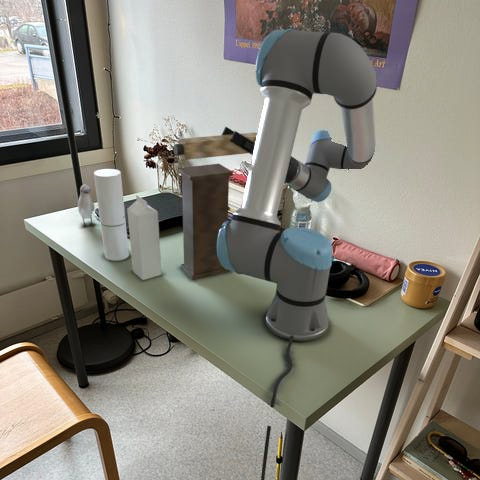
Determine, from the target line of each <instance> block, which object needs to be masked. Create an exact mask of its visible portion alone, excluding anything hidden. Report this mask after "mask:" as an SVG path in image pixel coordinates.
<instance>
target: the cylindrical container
mask: <svg viewBox="0 0 480 480" xmlns="http://www.w3.org/2000/svg"><path fill="white" fill-rule="evenodd" d="M93 178H94V185H95V192H96V193H95V194H96V200H97V209H98V215H99V222H100V229H101V231H100V232H101V237H102V238H101V239H102V246H103V253H104V258H105V259H106V260H109V261H114V262H115V261H117V262H118V261H123V260H125V259H128V257H129V256H130V250H129V241H128V230H127V221H126V212H125V211H126V210H125V202H124V191H123V182H122V172H121V170H119V169H116V168H102V169H97V170H95V171H93Z"/></svg>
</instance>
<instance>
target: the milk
mask: <svg viewBox="0 0 480 480" xmlns="http://www.w3.org/2000/svg"><path fill="white" fill-rule="evenodd" d="M135 197H136V198H135V199H136V200H135V201H134V202H133V203H132V204H130V206H128V208H127V209H126V212H127V221H128V222H127V223H128V231H129V241H130V242H129V243H130V253H131V262H132V272H133V273H134V274H135V275H137V277H139V279H141V280H142V281H145V280H149V279H152V278H155V277H158V276H162V258H161V257H162V256H161V244H160V243H161V242H160V225H159V211H158V210H156V209H155V208H153V207H151V206H150V205H149V204H148V201H146V200H145V199H144V198H142V197H140V195H136V196H135Z"/></svg>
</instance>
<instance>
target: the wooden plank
mask: <svg viewBox="0 0 480 480" xmlns="http://www.w3.org/2000/svg"><path fill="white" fill-rule="evenodd" d="M240 134H241V135H243V136H244V137H246V138H248V139H249V140H251V141H252V142H254V143H256V139H257V134H258V132H245V133H240ZM232 135H233V134H231V135H222V134H220V135H209V136H207V135H206V136H197V137H185V138H178V139H177V143H175V144H173V152H174V155H175V156H176V157H177V156H179V157H180V158H182V159H183V160H185V161H188V160H198V159H206V158H208V159H209V158H214V157H215V158H216V157H226V156H236V155H245V154H249V152H247V151H246V150H244V149H242V148H241V147H239V146H237V145H236V144H234V143H232V142H231V141H230V139H231V137H232ZM254 146H255V144H254ZM251 152H252V151H251ZM251 152H250V153H251Z"/></svg>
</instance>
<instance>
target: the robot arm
mask: <svg viewBox="0 0 480 480" xmlns="http://www.w3.org/2000/svg"><path fill="white" fill-rule="evenodd" d="M255 68H256V70H255V79H256V83H257V84H258V86H259V87H260V90H259V92H260V95H261V97H262V98H263V100H264V104H263V108H262V112H261V116H260V122H259V126H258V130H257V139H256V143H254V142H252V141H251V140H249V139H248V138H246V137H244V136H243V135H241V134H242V133H240V132H238V131H237V130H234V131H233V130H232V129H231V128H229V127H227V126H224V128H223V131H222V133H221V135H231V134H233V135H232V137H231V139H230V141H231V142H232V143H234V144H236V145H237V146H239V147H241V148H242V149H244V150H246V151H247V152H249V153H248V154H249V155H251V156H252V157H251V161H250V166H249V169H248V175H247V179H246V184H245V187H244V193H243V195H242V196H243V197H242V200H241V205H240V207H239V208H238V209H237V210H235V211H234V212H232V217H231V219H228V221H226V222H224V223H223V225H222V228H221V229H220V230H219V234H218V239H217V254H218V258H219V261H220V263H221V265H222V266H223V267H224V268H225V269H227V270H230V271H231V272H233V273H235V274H236V275H244V276H248V277H251V278H255V279H258V280H262V281H266V282H270V283H273V284H276V289H275V295H274V297H273V299H272V301H271V302H270V305H269V307H268V309H267V310H266V311H267V312H266V316H265V324H266V328H268V330H269V331H270V332H271V333H272V334H274V335H276V336H277V337H279V338H281V339H284V340H287V341H288V343H287V346H286V351H285V355H286V356H285V357H286V359H287V362H288V367H287V368H286V370H285V371H284V372H283V373H281V374H280V375H279V376H278V378H277V379H276V381H275V383H274V385H273V390H272V396H271V401H270V405H269V407H270V408H274V407H275V404H276V401H277V394H278V389H279V387H280V383H281V382H282V380H283V379H284V378H285V377H286V376H287V375H288V374H289V373H290V372H291V370H292V368H293V361H292V358H291V355H290V352H291V351H290V350H291V348H292V345H293V342H299V343H300V342H303V343H304V342H312V341H315V340H318V339H320V338H322V337H324V336H325V334H326V333H327V332H328V328H329V322H330V320H329V313H328V308H327V303H326V295H327V289H328V282H329V277H330V272H331V267H332V265H333V263H332V262H333V260H332V258H333V245H332V243H331V241H330V240H329V239H328V237H327V236H325V234H323V233H321V232H319V231H316V230H314V229H312V228H309V227H304V226H300V227H297V226H290V227H287V228H286V229H284V230H283V231H282V232H281V231H280V230H281V227H282V223H281V221H280V220H279V218H278V211H279V208H280V204H281V199H282V194H283V192H284V191H283V190H284V186H287V189H288V190H289V191H291V190H293V191H295V192H297V193H299V194H300V195H301V196H303V197H305V198H306V199H309V200H311V201H313V202H316V203H321V202H324V201H325V200H326V199H327V198H328V197H329V196H330V194H331V192H332V183H331V181H330V180H329V179H328V176H329V173H330V169H334V170H341V169H348V170H349V169H362V168H364V167H365V166H366V165H368V163H369V162H370V161H371V159H372V157H373V155H374V152H375V146H376V145H377V143H376V128H375V114H374V113H375V112H374V98H375V96H376V93H377V88H378V84H377V74H376V70H375V68H374V65H373V63H372V61H371V60H370V57H369V56H368V54H367V52H366V51H365V50H364V49H363V47H361V45H359V44H358V43H357V42H356V41H355V40H353V39H352V38H351V37H349V36H347V35H345V34H343V33H339V32H322V31H308V30H295V29H294V28H288V29H275V30H272V31H271V32H270V33H269V34H268V35H266V36H265V38H264V40H263V41H262V43H261V45H260V47H259V49H258V53H257V56H256V60H255ZM314 94H316V95H327V96H331V97H333V100H334V102H335V104H336V105H338V107H340V114H341V119H342V124H343V130H344V136H345V141H346V142H345V143H347V147H346V146H344V145H342V144H338V143H335V142H332V141H331V139H332V138H331V137H330V135H329V133H328V131H329V130H327V131H325V130H326V129H321V130H317V131H315V132H314V134H313V137H312V139H311V142H310V144H309V146H308V151H307V155H306V157H305V162H301V161H300V160H298V159H296V158H295V157H294V156H292V154H293V150H294V145H295V141H296V137H297V132H298V128H299V124H300V120H301V117H302V112H303V110H304V109H305V108H307V107H309V106H310V105H311V103H312V99H313V95H314ZM254 144H255V146H254ZM376 147H377V146H376ZM251 151H252V152H251ZM250 152H251V153H250ZM271 431H272V426H270V425H266V432H265V441H264V450H263V459H262V465H261V466H262V467H261V476H260V480H265V479H266V478H265V477H266V471H267V462H268V453H269V446H270V437H271Z"/></svg>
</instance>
